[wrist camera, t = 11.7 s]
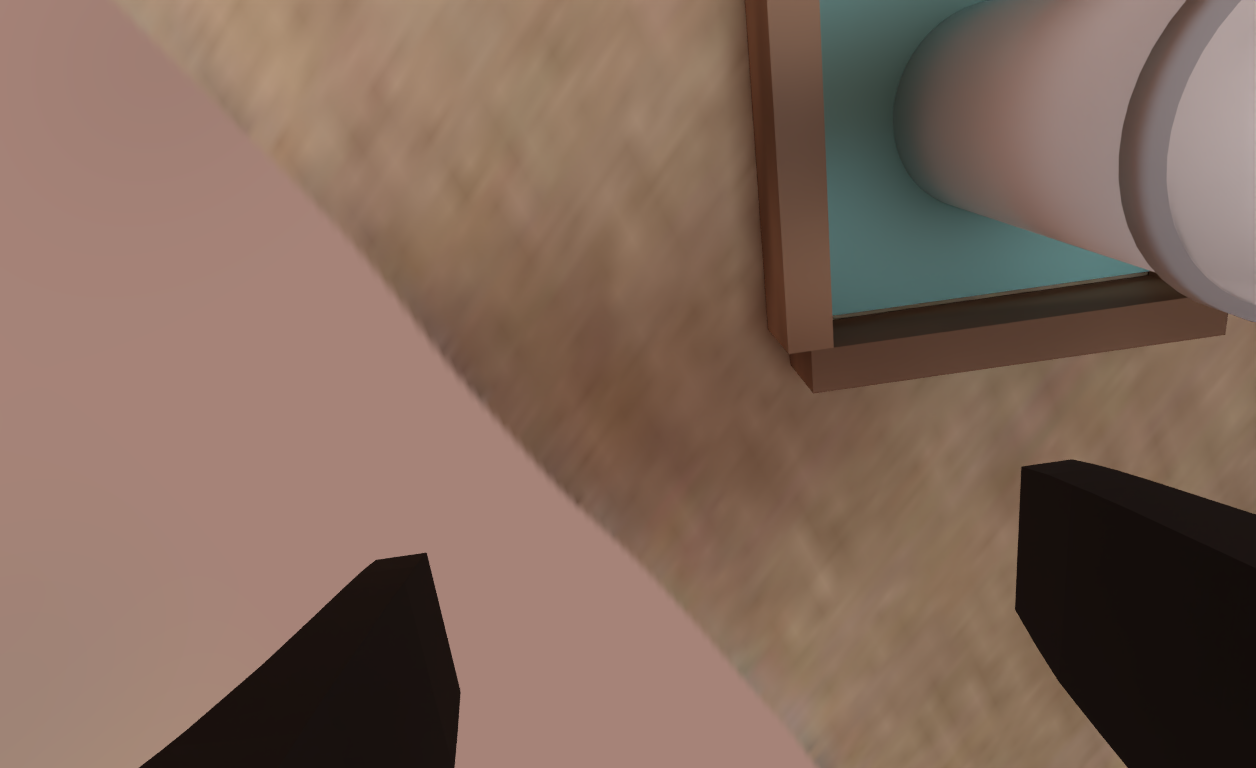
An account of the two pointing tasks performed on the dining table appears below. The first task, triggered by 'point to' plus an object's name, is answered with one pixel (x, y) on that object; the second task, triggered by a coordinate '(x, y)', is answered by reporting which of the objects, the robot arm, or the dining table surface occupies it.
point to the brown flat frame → (907, 223)
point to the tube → (1098, 131)
